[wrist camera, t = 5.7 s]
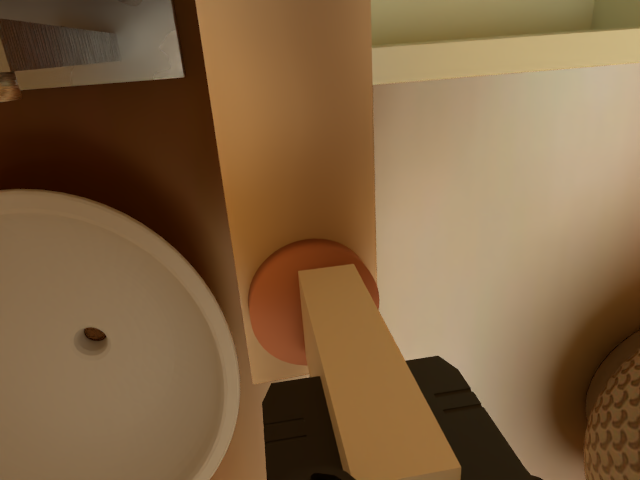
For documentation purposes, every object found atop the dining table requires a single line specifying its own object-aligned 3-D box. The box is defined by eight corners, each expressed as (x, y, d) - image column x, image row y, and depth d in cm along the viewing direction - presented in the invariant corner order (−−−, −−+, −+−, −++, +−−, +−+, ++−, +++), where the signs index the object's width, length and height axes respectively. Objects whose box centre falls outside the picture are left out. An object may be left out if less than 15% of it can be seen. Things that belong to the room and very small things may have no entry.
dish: (-122, 162, 20) (-231, 196, 15) (230, 156, 22) (228, 184, 17) (-16, 476, 26) (-69, 566, 22) (246, 446, 28) (248, 522, 24)
